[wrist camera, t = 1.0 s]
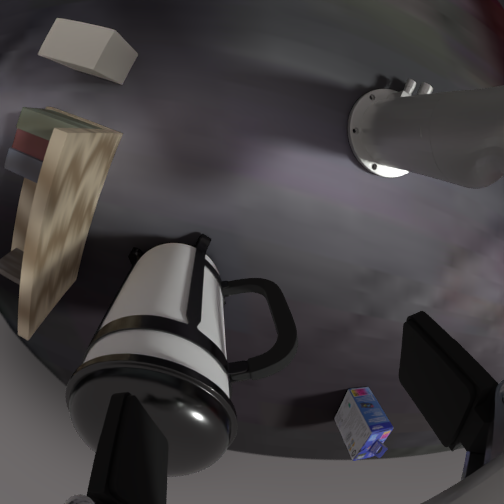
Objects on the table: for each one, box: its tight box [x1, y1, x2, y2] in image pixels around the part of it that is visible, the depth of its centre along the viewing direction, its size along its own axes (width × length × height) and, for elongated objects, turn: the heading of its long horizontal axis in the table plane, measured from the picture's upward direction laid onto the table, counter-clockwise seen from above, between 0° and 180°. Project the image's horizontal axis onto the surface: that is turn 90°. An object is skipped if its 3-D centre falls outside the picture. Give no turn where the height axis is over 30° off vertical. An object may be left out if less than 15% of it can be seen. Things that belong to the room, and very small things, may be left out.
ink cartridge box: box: [334, 387, 393, 461], centre depth 49 cm, size 10×6×14 cm, turn 172°
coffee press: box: [66, 234, 298, 477], centre depth 27 cm, size 17×16×30 cm
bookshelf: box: [0, 107, 123, 340], centre depth 28 cm, size 22×12×16 cm, turn 153°
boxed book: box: [38, 18, 138, 85], centre depth 25 cm, size 4×8×10 cm, turn 63°
